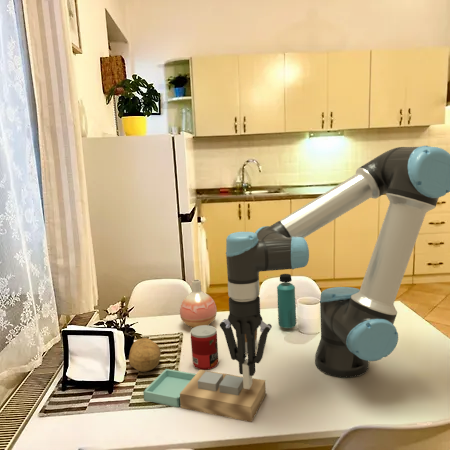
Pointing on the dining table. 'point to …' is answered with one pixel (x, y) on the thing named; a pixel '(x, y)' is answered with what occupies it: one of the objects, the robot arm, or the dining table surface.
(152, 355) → the potato
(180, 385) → the tray
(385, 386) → the dining table surface
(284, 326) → the beverage bottle
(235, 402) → the oak board
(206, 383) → the tile
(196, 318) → the vase
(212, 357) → the canned food
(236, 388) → the tile
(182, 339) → the dining table surface
